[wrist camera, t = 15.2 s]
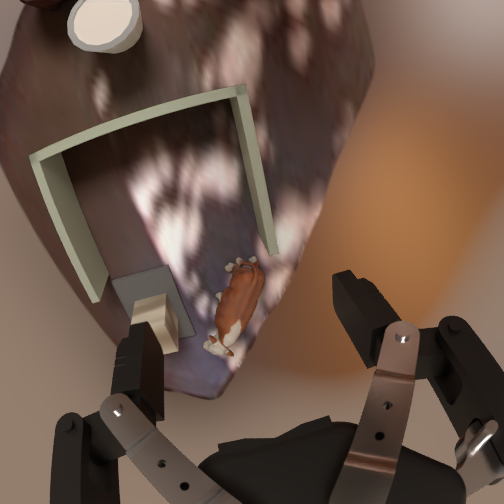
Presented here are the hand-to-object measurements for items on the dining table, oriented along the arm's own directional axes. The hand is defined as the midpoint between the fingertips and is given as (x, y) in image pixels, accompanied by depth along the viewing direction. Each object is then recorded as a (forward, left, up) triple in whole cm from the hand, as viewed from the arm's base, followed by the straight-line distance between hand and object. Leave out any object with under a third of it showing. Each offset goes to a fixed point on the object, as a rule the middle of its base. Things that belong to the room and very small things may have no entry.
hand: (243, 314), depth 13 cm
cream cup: (-19, -6, -26) cm, 32 cm away
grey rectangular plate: (+16, -12, -25) cm, 32 cm away
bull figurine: (+16, -1, -26) cm, 30 cm away
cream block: (+16, -12, -25) cm, 32 cm away
